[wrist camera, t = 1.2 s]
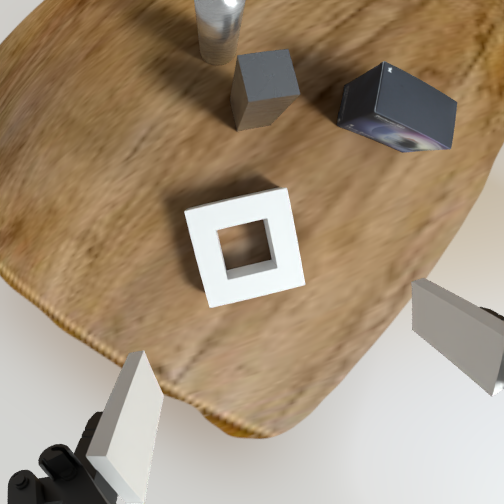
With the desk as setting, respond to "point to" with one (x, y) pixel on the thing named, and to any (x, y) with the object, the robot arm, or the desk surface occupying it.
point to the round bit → (218, 29)
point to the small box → (398, 110)
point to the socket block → (255, 275)
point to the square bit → (262, 88)
